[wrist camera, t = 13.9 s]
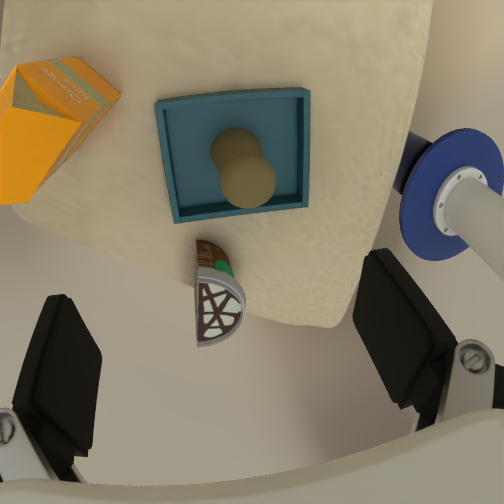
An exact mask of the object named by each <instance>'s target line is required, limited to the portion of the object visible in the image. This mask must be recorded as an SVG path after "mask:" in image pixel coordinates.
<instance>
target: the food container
mask: <svg viewBox="0 0 504 504" xmlns="http://www.w3.org/2000/svg"><path fill="white" fill-rule="evenodd" d="M245 307H246V298H245V293H244V291H243V289H242V287H241V286H240V284H239V283H238V282H237V281H236V280H235V279H234V275H233V272H232V269H231V266H230V262H229V259H228V257H227V255H226V254H225V252H224V251H223V250H222V249H221V248H220V247H218V246H217V245H215V244H213V243H210V242H208V241H203V240H196V257H195V313H196V315H195V316H196V335H197V347H205V346H211V345H214V344H218V343H220V342H222V341H224V340H226V339H228V338H229V337H231V336H232V335H233V334H234V333H235V332H236V331H237V330H238V328H239V327H240V325H241V323H242V321H243V319H244V315H245Z"/></svg>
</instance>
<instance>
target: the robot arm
mask: <svg viewBox="0 0 504 504" xmlns="http://www.w3.org/2000/svg"><path fill="white" fill-rule="evenodd" d="M433 219H434V223H435V225H436V227H437V228H438V229H439V230H440V231H441V232H442V233H443V234H445V235H449V236H454V235H458V236H459V237H461V238H462V239H463V240H464V241H465V242H466V243H467V244H468V245H469V246H470V247H471V248H472V249H473V250H474V251H475V252H476V253H477V254H478V255H479V256H480V257H481V258H482V259H483V260H484V261H485V262H486V263H487V264H488V265H489V266H490V267H491V269H492V270H493V271H495V273H496V274H497V275H498V276H499V277H500V278H501V279H502V280H503V281H504V198H503V197H501V196H500V195H499V194H497V193H496V192H495V191H493V190H492V189H490V188H489V187H488V186H487V181H486V178H485V176H484V174H483V173H482V172H481V171H480V170H478V169H477V168H475V167H472V166H464V167H461V168H459V169H457V170H455V171H454V172H452V173H451V174H450V175H449V176H448V177H447V178H446V179H445V181H444V182H443V183H442V185H441V187H440V188H439V190H438V193H437V195H436V197H435V201H434V205H433ZM353 322H354V325H355V327H356V329H357V331H358V333H359V334H360V336H361V339H362V341H363V343H364V344H365V347H366V348H367V351H368V353H369V355H370V357H371V359H372V361H373V363H374V365H375V367H376V369H377V370H378V373H379V375H380V377H381V379H382V381H383V383H384V385H385V387H386V390H387V391H388V394H389V396H390V398H391V400H392V401H393V402H394V403H398V406H399V407H400V409H403V408H406V407H409V406H411V405H413V406H414V408H415V410H416V416H415V419H414V422H413V426H412V429H411V432H410V434H409V435H407V436H405V437H402V438H399V439H396V440H393V441H391V442H388V443H385V444H382V445H379V446H377V447H374V448H371V449H368V450H365V451H362V452H359V453H356V454H352V455H349V456H346V457H342V458H339V459H336V460H332V461H328V462H325V463H320V464H316V465H312V466H308V467H304V468H300V469H296V470H291V471H286V472H281V473H276V474H270V475H265V476H259V477H253V478H247V479H240V480H231V481H223V482H214V483H203V484H190V485H171V486H123V485H102V484H88V483H87V482H86V480H85V479H84V478H83V476H82V475H81V473H80V472H79V471H78V469H77V468H76V466H75V465H74V456H81V457H88V449H91V447H92V443H93V431H94V420H95V411H96V401H97V394H98V386H99V379H100V372H101V365H102V355H101V351H100V349H99V348H98V346H97V344H96V343H95V341H94V339H93V337H92V336H91V334H90V332H89V331H88V329H87V327H86V325H85V323H84V321H83V320H82V318H81V316H80V314H79V312H78V310H77V308H76V306H75V304H74V302H73V301H72V299H71V298H68V297H67V296H66V295H65V294H59V295H51V296H48V297H47V299H46V301H45V304H44V306H43V309H42V311H41V314H40V316H39V319H38V322H37V324H36V327H35V330H34V332H33V335H32V338H31V341H30V344H29V347H28V350H27V353H26V356H25V359H24V362H23V365H22V369H21V372H20V375H19V379H18V382H17V386H16V389H15V393H14V397H13V401H12V404H13V408H12V410H11V409H9V408H0V504H504V367H503V366H500V365H498V364H495V360H494V356H493V354H492V352H491V350H490V349H489V348H488V347H487V346H486V345H485V344H484V343H482V342H480V341H478V340H473V339H467V340H464V341H462V342H460V343H459V344H458V342H457V341H456V338H455V336H454V335H453V333H452V332H451V330H450V329H449V328H448V326H447V325H446V323H445V322H444V320H443V319H442V318H441V316H440V315H439V313H438V312H437V311H436V309H435V308H434V307H433V305H432V304H431V302H430V301H429V300H428V298H427V297H426V296H425V294H424V293H423V292H422V290H421V289H420V288H419V287H418V285H417V284H416V283H415V281H414V280H413V279H412V277H411V276H410V275H409V274H408V272H407V271H406V270H405V269H404V267H403V266H402V265H401V264H400V262H399V261H398V260H397V259H396V257H395V256H394V255H393V254H392V252H391V251H390V250H389V249H387V248H383V249H377V250H371V251H370V252H369V254H368V256H365V258H364V262H363V267H362V273H361V278H360V283H359V288H358V292H357V297H356V302H355V306H354V311H353Z"/></svg>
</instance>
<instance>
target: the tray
mask: <svg viewBox="0 0 504 504" xmlns="http://www.w3.org/2000/svg"><path fill="white" fill-rule="evenodd" d="M155 112H156V119H157V126H158V133H159V139H160V146H161V152H162V158H163V165H164V171H165V176H166V182H167V188H168V193H169V199H170V204H171V210H172V215H173V220H174V224H177V223H183V222H191V221H198V220H205V219H213V218H220V217H228V216H236V215H244V214H252V213H260V212H268V211H277V210H286V209H294V208H304V207H308V200H309V169H310V90H307V89H305V88H302V87H298V88H266V89H249V90H235V91H224V92H214V93H205V94H197V95H189V96H182V97H175V98H168V99H162V100H158V101H157V102H156V103H155ZM234 127H241V128H244V129H247V130H250V131H251V132H252V133H254V134H255V135H256V137H257V138H258V140H259V141H260V145H261V149H262V154H263V158H265V159H266V160H267V161H269V163H270V164H271V166H272V167H273V169H274V170H275V174H276V188H275V191H274V193H273V195H272V196H271V198H270V199H269V200H268V201H267V202H265V203H264V204H262V205H261V206H258V207H255V208H248V209H244V208H240V207H236V206H235V205H233V204H232V203H230V202H229V201H228V200H227V199H226V197H225V196H224V195H223V193H222V190H221V187H220V175H221V174H220V173H219V171H218V170H217V168H216V167H215V165H214V164H213V161H212V158H211V146H212V143H213V141H214V139H215V138H216V137H217V136H218V134H220V133H221V132H223V131H224V130H226V129H230V128H234Z"/></svg>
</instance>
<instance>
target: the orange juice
mask: <svg viewBox="0 0 504 504" xmlns="http://www.w3.org/2000/svg"><path fill="white" fill-rule="evenodd" d="M120 96H121V94H120V93H119V92H118V91H117V90H116V89H114V88H113V87H112V86H111V85H110V84H109V83H108V82H106V81H105V80H104V79H103V78H102V77H101V76H100V75H98V74H97V73H96V72H95V71H94V70H93V69H91V68H90V67H89V66H88V65H87V64H86V63H84V62H83V61H82V60H81V59H80V58H79V57H72V58H62V59H58V58H57V59H49V60H46V61H39V62H32V63H26V64H20V65H16V67H15V68H14V70H13V71H12V73H11V74H10V76H9V78H8V79H7V81H6V82H5V84H4V86H3V87H2V89H1V91H0V205H5V204H19V203H28V202H29V201H30V199H31V197H32V196H33V194H34V193H35V192H36V191H37V190H38V189H39V188H40V187H41V186H42V184H43V183H44V182H45V181H46V180H47V179H48V178H49V177H50V176H51V175H52V174H53V173H54V172H55V171H56V170H57V169H58V168H59V167H60V166H61V165H62V164H63V163H64V162H65V161H66V160H67V159H68V158H69V157H70V156H71V155H72V154H73V153H74V152H75V151H76V150H77V149H78V147H79V146H80V145H81V143H82V142H83V141H84V139H85V138H86V137H87V135H88V134H89V133H90V132H91V130H92V129H93V128H94V127H95V125H96V124H97V123H98V122H99V121H100V119H101V118H102V117H103V116H104V115H105V113H106V112H107V111H108V110H109V109H110V107H111V106H112V105H113V104H114V103H115V102H116V101H117V99H118V98H119V97H120Z"/></svg>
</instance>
